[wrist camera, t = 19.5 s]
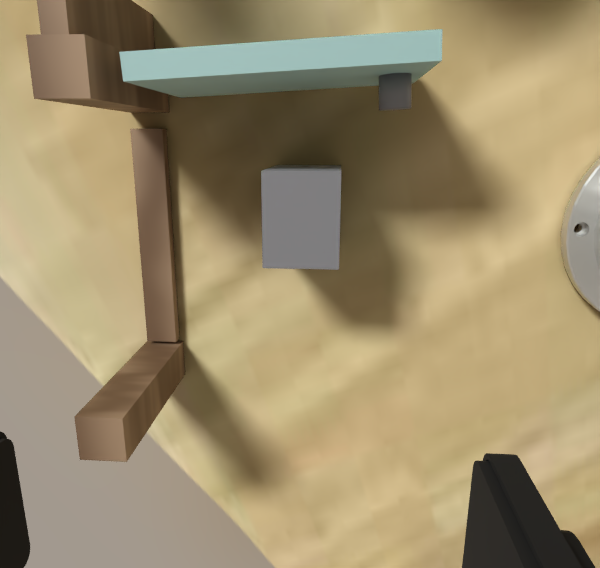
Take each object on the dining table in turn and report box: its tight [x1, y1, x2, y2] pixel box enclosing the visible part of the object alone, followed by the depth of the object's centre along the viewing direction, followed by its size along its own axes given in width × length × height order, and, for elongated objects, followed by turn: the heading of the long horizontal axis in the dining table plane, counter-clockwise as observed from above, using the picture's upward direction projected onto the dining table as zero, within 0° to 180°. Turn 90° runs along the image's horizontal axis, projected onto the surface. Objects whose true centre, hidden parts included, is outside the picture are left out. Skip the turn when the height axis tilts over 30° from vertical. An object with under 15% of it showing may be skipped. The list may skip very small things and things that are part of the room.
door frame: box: [26, 0, 185, 462], centre depth 29 cm, size 2×23×10 cm, turn 0°
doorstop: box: [261, 165, 341, 270], centre depth 29 cm, size 5×4×7 cm
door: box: [119, 29, 442, 111], centre depth 26 cm, size 3×14×8 cm, turn 93°
